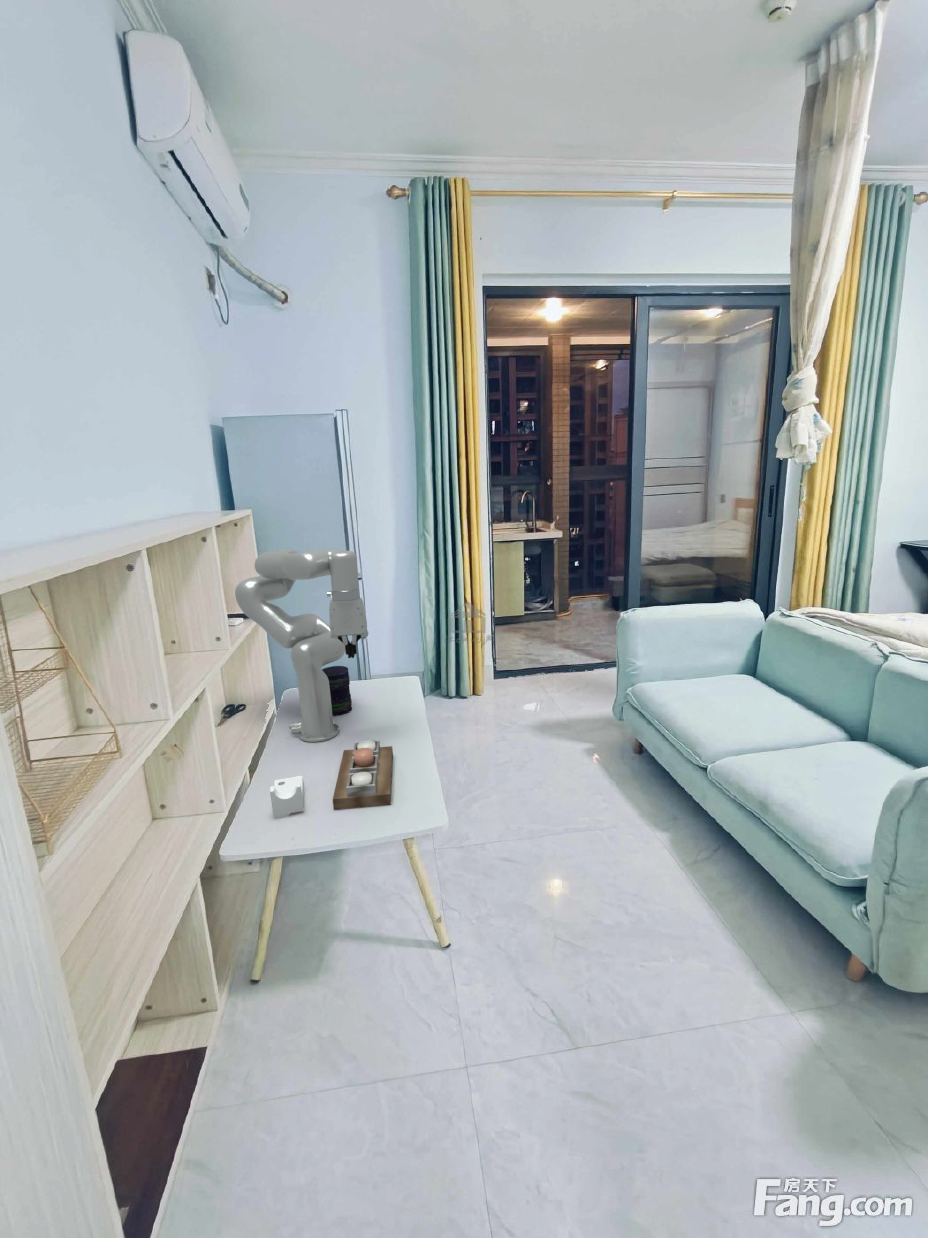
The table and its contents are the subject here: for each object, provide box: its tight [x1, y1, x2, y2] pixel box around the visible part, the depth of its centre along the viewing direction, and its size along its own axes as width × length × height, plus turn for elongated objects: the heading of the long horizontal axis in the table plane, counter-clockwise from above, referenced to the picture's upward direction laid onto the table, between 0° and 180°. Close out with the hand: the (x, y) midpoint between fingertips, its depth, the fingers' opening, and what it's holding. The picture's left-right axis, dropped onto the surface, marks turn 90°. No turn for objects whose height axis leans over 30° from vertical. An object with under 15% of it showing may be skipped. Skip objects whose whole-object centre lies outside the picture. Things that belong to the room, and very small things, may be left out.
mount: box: [332, 739, 394, 811], centre depth 155 cm, size 14×26×6 cm, turn 6°
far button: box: [357, 740, 376, 751], centre depth 163 cm, size 5×5×3 cm
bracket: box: [269, 775, 305, 819], centre depth 146 cm, size 13×7×8 cm, turn 15°
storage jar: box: [321, 665, 353, 717], centre depth 201 cm, size 10×10×15 cm
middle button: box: [354, 748, 374, 767], centre depth 154 cm, size 5×5×3 cm
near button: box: [351, 772, 372, 786], centre depth 146 cm, size 5×5×3 cm
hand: (351, 656), depth 167 cm, fingers closed
